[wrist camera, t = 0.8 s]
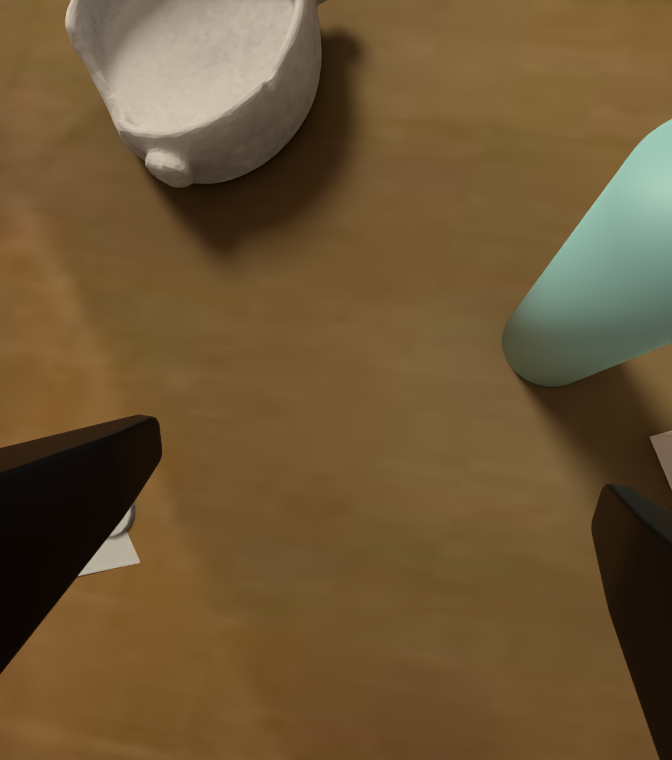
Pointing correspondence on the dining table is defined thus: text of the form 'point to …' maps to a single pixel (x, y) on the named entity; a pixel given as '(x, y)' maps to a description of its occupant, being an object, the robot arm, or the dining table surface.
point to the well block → (664, 452)
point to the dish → (201, 78)
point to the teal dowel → (604, 279)
